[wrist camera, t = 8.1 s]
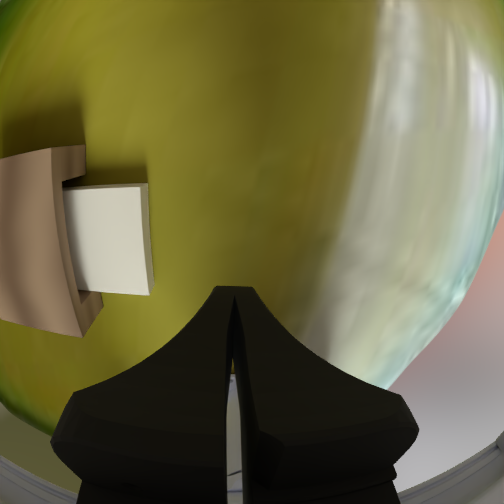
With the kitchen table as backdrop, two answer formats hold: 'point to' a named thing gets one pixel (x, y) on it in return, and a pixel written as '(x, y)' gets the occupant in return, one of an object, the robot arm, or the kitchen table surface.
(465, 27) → the kitchen table surface
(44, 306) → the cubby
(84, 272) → the tile
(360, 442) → the robot arm
